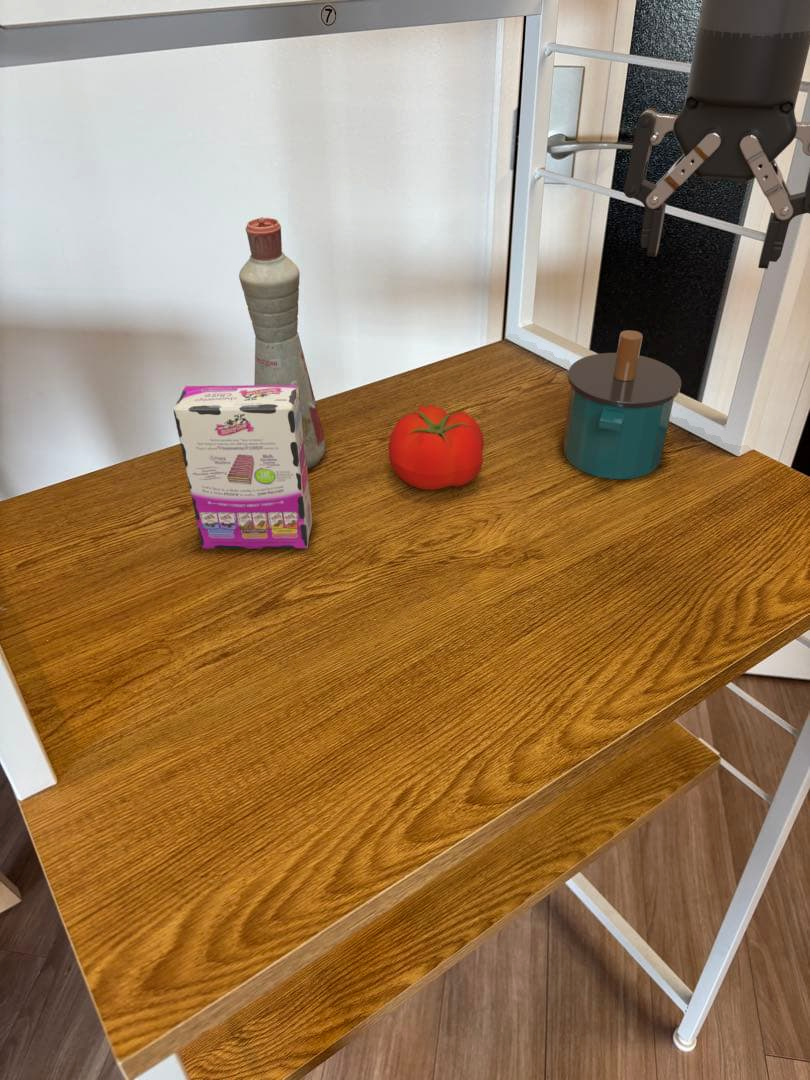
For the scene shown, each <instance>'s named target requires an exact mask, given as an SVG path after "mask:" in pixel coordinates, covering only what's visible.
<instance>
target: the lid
mask: <svg viewBox="0 0 810 1080" xmlns="http://www.w3.org/2000/svg"><path fill="white" fill-rule="evenodd" d="M643 338H644V336H643V334H642V332H640V331H637V330H631V329H629V330H628V329H627V330H623V331H621V332H620V333H619V337H618V344H617V350H616V352H604V353H597V354H595V353H594V354H590V355H587V356H585V357H582V358H580V359H578V360H576V361H575V362H573V363H572V364H571V366H569V368H568V372H567V381H568V383H569V385H570V387H572V388H573V389H574V390H575V391H576V392H578V393H579V394H581V395H582V396H584V397H586V398H588V399H591V400H593V401H596V402H599V403H602V404H606V405H611V406H617V407H627V408H643V407H652V406H657V405H661V404H664V403H666V402H669V401H670V400H672V399H674V400H675V398H676V397H677V396H678V395H679V393H680V391H681V389H682V388H681V387H682V380H681V379H682V378H681V377H680V375H679V373H678V372H676V370H675V369H673V368H672V367H670V366H669V365H667V364H666V363H663V362H661V361H659V360H657V359H655V358H651V357H648V356H644V355H640V353H641V347H642V342H643Z"/></svg>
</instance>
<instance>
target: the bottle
mask: <svg viewBox="0 0 810 1080" xmlns="http://www.w3.org/2000/svg"><path fill="white" fill-rule="evenodd" d="M281 226H282V225H281V224H280V223H279V220H278V219H276V218H271V217H264V216H261V217H259V218H254V219H252V220H249V221H248V222H247V224H246V226H245V233H246V235H247V241H248V245H249V250H250V256H249V259H248V260H247V261H246V262H245V263H244V264H243V266H242V267H241V269H240V270H239V274H238V278H239V282H240V286H241V289H242V291H243V296H244V300H245V304H246V306H247V312H248V314H249V318H250V320H251V325H252V328H253V333H254V336H255V337H254V385H298V388H299V396H300V407H301V416H302V425H303V434H304V445H305V454H306V462H307V470H309V469H312V468H313V467H316V466H317V465H318V463H320V461H321V460H322V459H323V456H324V455H325V452H326V438H325V434H324V431H323V427H322V422H321V419H320V415H319V411H318V407H317V402H316V398H315V395H314V390H313V386H312V382H311V378H310V374H309V371H308V370H309V369H308V367H307V366H308V365H307V362H306V359H305V358H306V357H305V354H304V350H303V346H302V343H301V339H300V334H299V332H298V324H299V318H298V315H299V298H300V297H299V296H300V287H299V286H300V270H299V267H298V266H297V264H296V263H295V262H294V261H293V260H292V259H290V257H288V256H287V255H286V254H285V253H284V251H283V245H282V243H283V242H282V227H281Z"/></svg>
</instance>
